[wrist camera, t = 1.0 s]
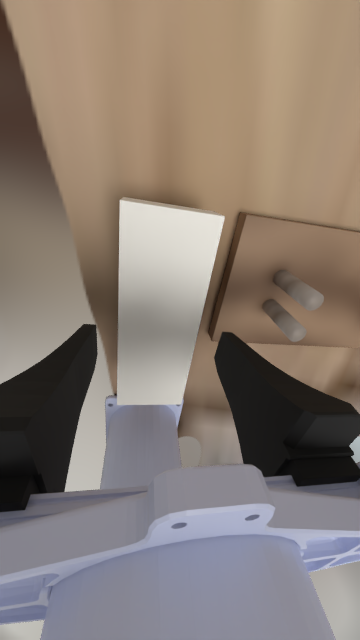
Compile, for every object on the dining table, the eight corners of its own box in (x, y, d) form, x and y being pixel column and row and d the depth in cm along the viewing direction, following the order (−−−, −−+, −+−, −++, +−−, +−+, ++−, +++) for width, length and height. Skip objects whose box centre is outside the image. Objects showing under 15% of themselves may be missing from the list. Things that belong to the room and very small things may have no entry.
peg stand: (372, 341, 24) (423, 378, 19) (208, 333, 20) (225, 375, 16) (442, 245, 19) (533, 265, 14) (240, 212, 15) (277, 225, 11)
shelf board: (178, 385, 20) (181, 404, 18) (119, 384, 19) (116, 405, 17) (214, 211, 13) (224, 216, 11) (123, 196, 12) (119, 199, 10)
